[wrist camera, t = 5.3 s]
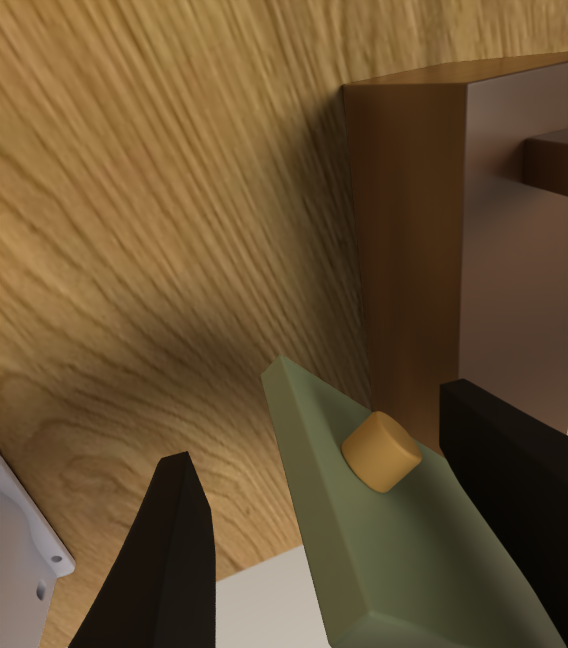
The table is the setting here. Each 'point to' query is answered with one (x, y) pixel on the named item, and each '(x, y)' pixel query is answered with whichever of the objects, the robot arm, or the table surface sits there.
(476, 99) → the door frame
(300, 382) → the door
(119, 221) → the table surface
